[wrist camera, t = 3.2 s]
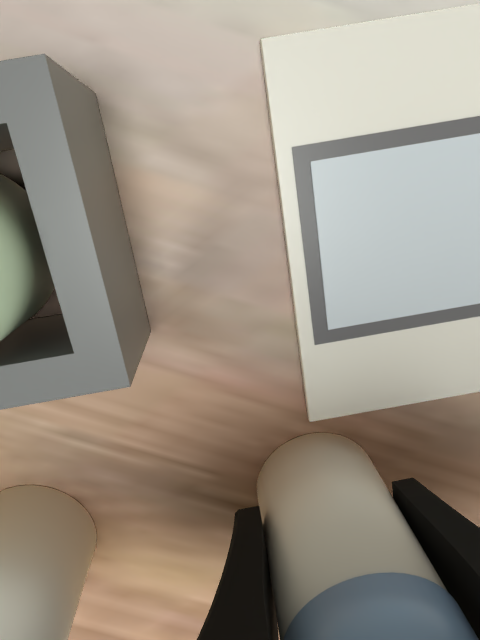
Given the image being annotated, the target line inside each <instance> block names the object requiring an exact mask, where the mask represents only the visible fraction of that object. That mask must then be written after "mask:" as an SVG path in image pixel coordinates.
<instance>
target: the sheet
mask: <svg viewBox="0 0 480 640" xmlns="http://www.w3.org/2000/svg"><path fill="white" fill-rule="evenodd" d="M260 48H261V56H262V63H263V71H264V79H265V87H266V95H267V103H268V110H269V118H270V126H271V134H272V142H273V150H274V157H275V165H276V173H277V181H278V189H279V197H280V204H281V212H282V220H283V228H284V236H285V244H286V251H287V259H288V267H289V275H290V283H291V290H292V298H293V306H294V314H295V322H296V330H297V337H298V345H299V353H300V361H301V369H302V377H303V384H304V392H305V400H306V408H307V416H308V419H309V421H310V422H313V421H318V420H324V419H330V418H335V417H341V416H346V415H352V414H358V413H363V412H369V411H374V410H380V409H386V408H391V407H397V406H402V405H408V404H414V403H419V402H425V401H430V400H436V399H442V398H447V397H453V396H458V395H464V394H470V393H475V392H480V3H478V4H472V5H466V6H460V7H454V8H447V9H441V10H435V11H429V12H423V13H416V14H410V15H404V16H398V17H392V18H385V19H379V20H373V21H367V22H361V23H354V24H348V25H342V26H336V27H330V28H323V29H317V30H311V31H305V32H299V33H292V34H286V35H280V36H274V37H268V38H261V41H260Z"/></svg>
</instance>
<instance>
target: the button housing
mask: <svg viewBox="0 0 480 640" xmlns="http://www.w3.org/2000/svg"><path fill="white" fill-rule="evenodd" d="M11 149H14V150H15V153H16V157H17V160H18V163H19V167H20V170H21V174H22V177H23V181H24V184H25V187H26V191H27V194H28V198H29V201H30V204H31V208H32V211H33V215H34V218H35V222H36V225H37V228H38V232H39V235H40V239H41V242H42V245H43V249H44V252H45V256H46V259H47V263H48V266H49V269H50V273H51V276H52V280H53V283H54V286H55V290H56V293H57V297H58V300H59V304H60V307H61V310H62V314H60V315H54V316H48V317H42V318H37V319H31V320H27V321H26V322H24V323H23V324H22V325H21V326H19V327H18V328H17V329H15V330H14V331H13V332H12V333H10V334H9V335H8V336H7V337H5V338H4V339H3V340H1V341H0V410H1V409H6V408H12V407H18V406H24V405H29V404H35V403H41V402H46V401H52V400H58V399H63V398H69V397H75V396H80V395H86V394H92V393H97V392H103V391H109V390H115V389H120V388H126V387H130V386H131V384H132V381H133V378H134V376H135V373H136V370H137V367H138V365H139V362H140V359H141V357H142V354H143V351H144V348H145V346H146V343H147V340H148V338H149V335H150V332H151V330H150V326H149V321H148V317H147V313H146V308H145V304H144V300H143V296H142V291H141V287H140V283H139V278H138V274H137V270H136V265H135V261H134V257H133V253H132V248H131V244H130V240H129V235H128V231H127V227H126V223H125V218H124V214H123V210H122V205H121V201H120V197H119V192H118V188H117V184H116V180H115V175H114V171H113V167H112V162H111V158H110V154H109V149H108V145H107V141H106V137H105V132H104V128H103V124H102V119H101V115H100V111H99V107H98V102H97V98H96V94H95V93H94V92H93V91H92V90H90V89H89V88H88V87H87V86H85V85H84V84H83V83H81V82H80V81H79V80H78V79H76V78H75V77H74V76H72V75H71V74H70V73H69V72H67V71H66V70H65V69H63V68H62V67H61V66H60V65H58V64H57V63H56V62H54V61H53V60H52V59H51V58H49V57H48V56H47V55H45V54H41V55H35V56H28V57H22V58H16V59H10V60H4V61H0V151H5V150H11Z"/></svg>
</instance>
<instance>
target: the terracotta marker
mask: <svg viewBox="0 0 480 640" xmlns="http://www.w3.org/2000/svg"><path fill="white" fill-rule="evenodd" d="M96 542H97V533H96V528H95V525H94V522H93V520H92V518H91V516H90V514H89V513H88V512H87V510H86V509H85V508H84V507H83V506H82V505H81V504H80V503H79V502H78V501H76V500H75V499H74V498H72V497H71V496H69V495H67V494H66V493H63V492H61V491H59V490H56V489H53V488H49V487H44V486H37V485H23V486H15V487H11V488H7V489H5V490H2V491H0V640H68V637H69V633H70V630H71V627H72V624H73V620H74V617H75V614H76V610H77V607H78V604H79V600H80V597H81V594H82V591H83V587H84V584H85V581H86V577H87V574H88V571H89V567H90V564H91V561H92V557H93V554H94V551H95V547H96Z"/></svg>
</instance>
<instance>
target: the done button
mask: <svg viewBox="0 0 480 640" xmlns="http://www.w3.org/2000/svg"><path fill="white" fill-rule="evenodd" d="M54 287H55V286H54V283H53V280H52V276H51V273H50V269H49V266H48V263H47V259H46V256H45V252H44V249H43V245H42V242H41V239H40V235H39V232H38V228H37V225H36V222H35V218H34V215H33V211H32V208H31V204H30V201H29V198H28V194H27V192H26V191H25V190H24V189H23V188H22V187H20V186H19V185H18V184H16V183H15V182H14V181H12V180H10V179H9V178H7V177H5V176H3V175H1V174H0V341H1V340H3V339H4V338H5V337H7V336H8V335H9V334H10V333H12V332H13V331H14V330H15V329H17V328H18V327H19V326H21V325H22V324H23V323H24V322H26V321H27V320H28V319H29V318H31V317H32V316H33V315H35V314H36V313H37V312H38V311H39V310H40V309H41V308H42V307H43V306H44V304H45V303H46V302H47V300H48V299H49V297H50V295H51V294H52V292H53V290H54Z"/></svg>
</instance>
